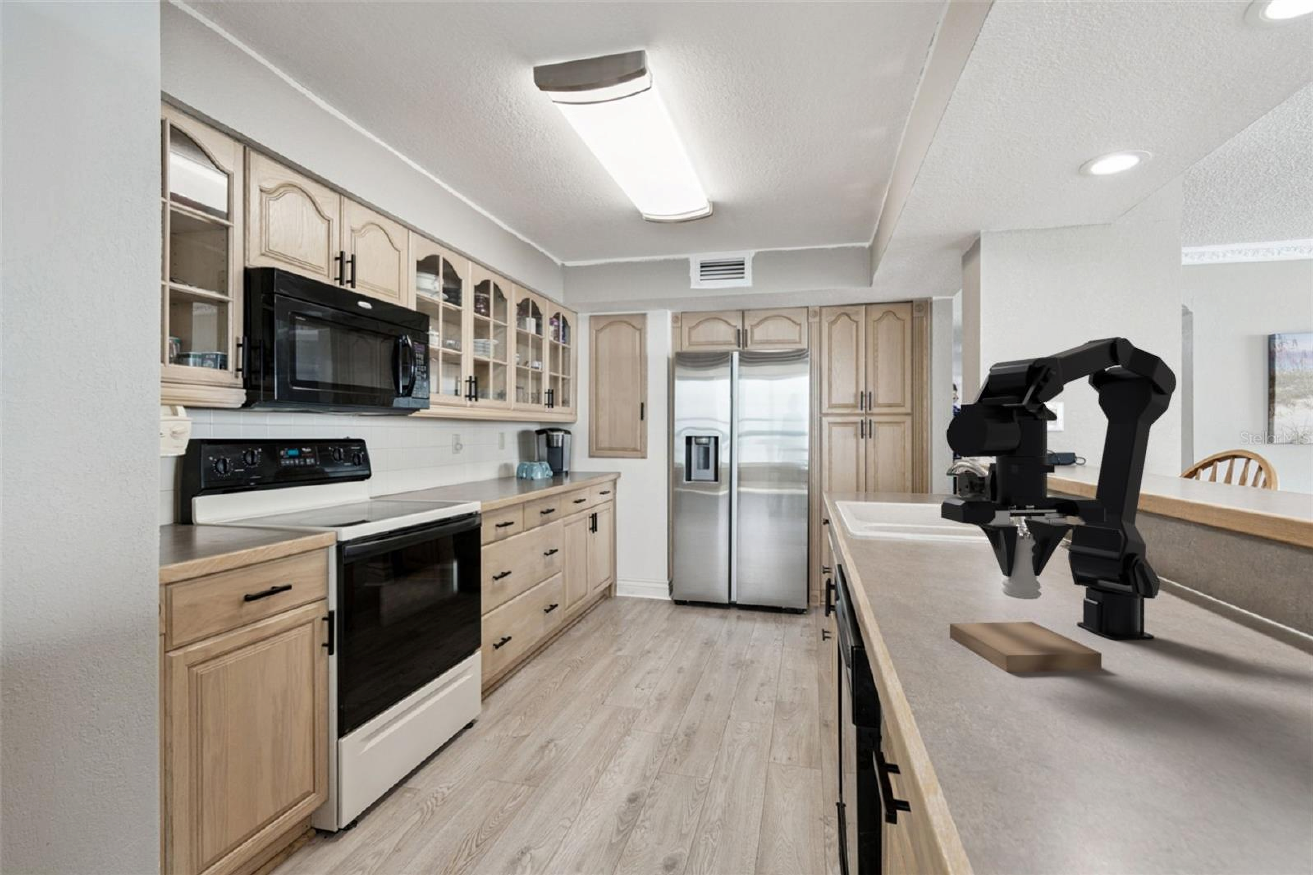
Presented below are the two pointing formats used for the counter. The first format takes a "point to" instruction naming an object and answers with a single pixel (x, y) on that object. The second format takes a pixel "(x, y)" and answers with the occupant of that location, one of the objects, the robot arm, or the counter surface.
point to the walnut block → (1024, 647)
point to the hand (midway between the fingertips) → (1021, 575)
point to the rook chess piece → (1022, 571)
